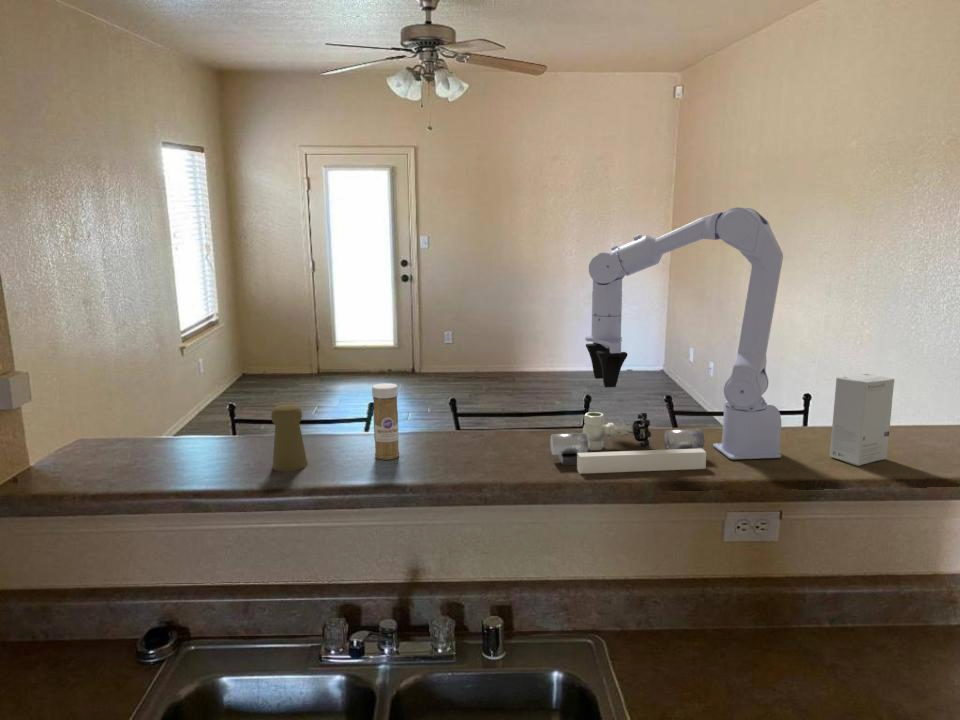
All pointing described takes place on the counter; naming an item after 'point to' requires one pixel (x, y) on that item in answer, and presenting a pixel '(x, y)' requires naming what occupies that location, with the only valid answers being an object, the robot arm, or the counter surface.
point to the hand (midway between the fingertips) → (604, 382)
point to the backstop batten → (641, 460)
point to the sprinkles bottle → (385, 421)
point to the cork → (288, 439)
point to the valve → (613, 430)
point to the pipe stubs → (578, 443)
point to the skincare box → (861, 418)
